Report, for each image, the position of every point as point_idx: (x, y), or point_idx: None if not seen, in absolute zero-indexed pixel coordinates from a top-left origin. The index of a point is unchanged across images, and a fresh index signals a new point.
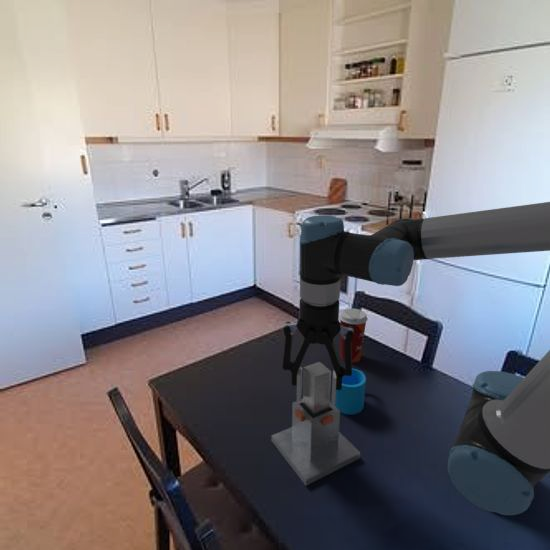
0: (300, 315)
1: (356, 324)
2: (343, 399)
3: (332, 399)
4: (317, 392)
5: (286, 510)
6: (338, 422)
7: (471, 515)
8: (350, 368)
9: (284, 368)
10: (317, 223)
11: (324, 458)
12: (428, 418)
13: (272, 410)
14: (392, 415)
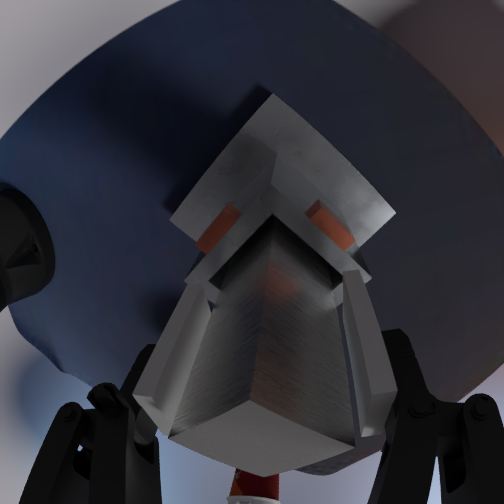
0: None
1: (242, 494)
2: None
3: (189, 302)
4: (248, 310)
5: (297, 25)
6: (199, 253)
7: (20, 166)
8: (49, 438)
9: (487, 402)
10: None
11: (244, 174)
12: (104, 335)
13: (400, 297)
14: (153, 335)
